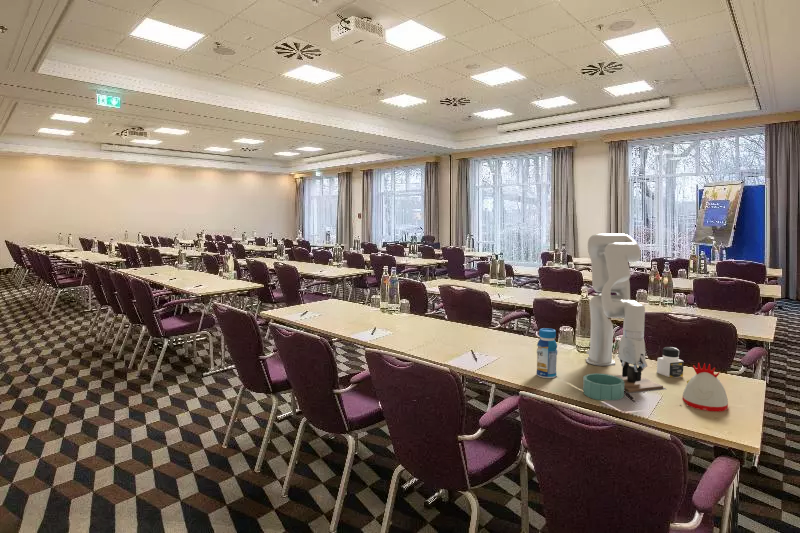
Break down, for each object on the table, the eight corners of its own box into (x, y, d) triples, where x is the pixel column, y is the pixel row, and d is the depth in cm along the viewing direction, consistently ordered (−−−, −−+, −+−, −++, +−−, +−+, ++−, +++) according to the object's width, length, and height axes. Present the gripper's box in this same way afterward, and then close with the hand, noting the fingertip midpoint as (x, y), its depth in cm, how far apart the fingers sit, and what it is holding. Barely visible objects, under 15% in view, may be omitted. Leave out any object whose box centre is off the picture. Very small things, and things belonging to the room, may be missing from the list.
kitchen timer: (686, 394, 186) (688, 356, 185) (729, 403, 177) (732, 362, 176) (679, 405, 175) (681, 364, 174) (725, 414, 167) (727, 372, 165)
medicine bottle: (669, 378, 204) (670, 350, 203) (656, 373, 211) (657, 346, 210) (683, 377, 206) (684, 349, 205) (669, 372, 213) (671, 345, 212)
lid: (600, 379, 202) (601, 362, 201) (633, 376, 206) (633, 359, 205) (628, 392, 186) (629, 374, 186) (663, 388, 191) (663, 371, 190)
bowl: (575, 390, 191) (576, 375, 190) (606, 386, 194) (606, 372, 194) (599, 403, 177) (600, 387, 177) (631, 399, 181) (632, 383, 180)
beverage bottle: (557, 379, 204) (559, 332, 202) (536, 378, 205) (538, 331, 203) (555, 373, 212) (556, 328, 210) (535, 372, 213) (536, 327, 212)
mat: (597, 380, 203) (597, 378, 202) (633, 376, 207) (633, 375, 207) (628, 395, 185) (628, 393, 185) (667, 390, 190) (667, 389, 190)
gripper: (610, 330, 202) (608, 373, 203) (641, 340, 185) (639, 386, 187) (625, 329, 204) (624, 371, 205) (657, 338, 187) (655, 384, 189)
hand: (631, 378), depth 196 cm, fingers open, 5 cm apart
